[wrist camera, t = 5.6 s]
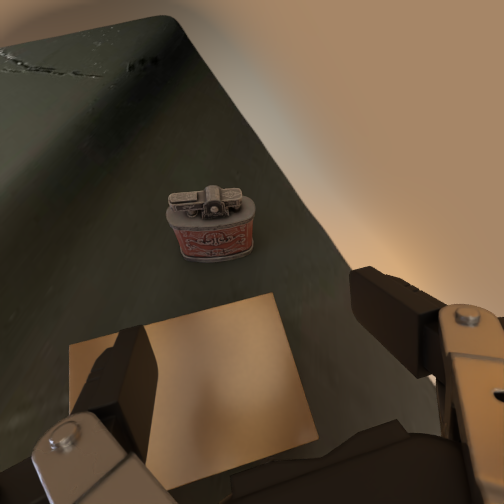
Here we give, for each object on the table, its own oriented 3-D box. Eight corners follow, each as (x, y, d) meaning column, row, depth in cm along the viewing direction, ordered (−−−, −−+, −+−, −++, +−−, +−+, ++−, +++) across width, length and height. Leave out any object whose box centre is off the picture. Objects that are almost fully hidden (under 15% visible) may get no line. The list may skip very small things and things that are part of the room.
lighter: (251, 231, 34) (253, 173, 25) (254, 257, 33) (258, 205, 24) (181, 238, 34) (158, 181, 25) (182, 265, 32) (158, 214, 23)
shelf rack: (122, 486, 23) (68, 524, 16) (114, 358, 28) (68, 345, 21) (298, 427, 26) (319, 439, 18) (265, 317, 30) (272, 292, 23)
